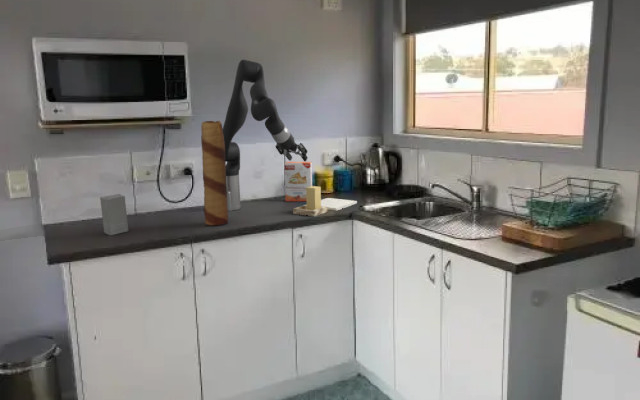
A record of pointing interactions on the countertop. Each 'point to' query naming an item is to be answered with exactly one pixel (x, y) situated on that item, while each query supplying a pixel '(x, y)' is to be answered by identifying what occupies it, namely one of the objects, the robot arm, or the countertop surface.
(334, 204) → the chopping board
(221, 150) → the wafer roll
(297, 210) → the pocket
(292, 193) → the cracker box
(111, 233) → the skincare box
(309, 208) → the block
